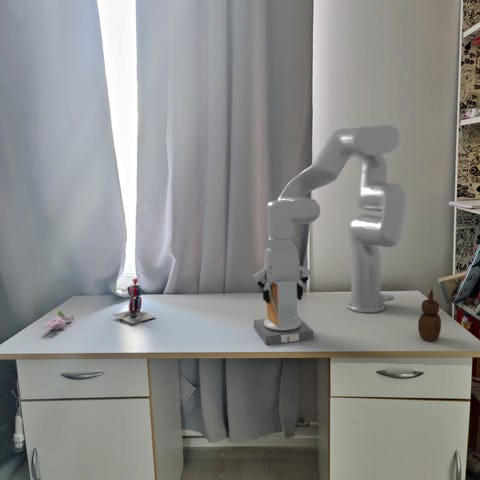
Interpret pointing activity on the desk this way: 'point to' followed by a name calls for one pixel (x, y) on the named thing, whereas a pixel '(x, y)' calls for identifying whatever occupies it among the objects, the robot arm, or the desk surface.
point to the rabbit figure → (59, 321)
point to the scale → (282, 332)
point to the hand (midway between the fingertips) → (283, 300)
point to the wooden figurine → (429, 319)
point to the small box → (283, 303)
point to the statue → (134, 307)
